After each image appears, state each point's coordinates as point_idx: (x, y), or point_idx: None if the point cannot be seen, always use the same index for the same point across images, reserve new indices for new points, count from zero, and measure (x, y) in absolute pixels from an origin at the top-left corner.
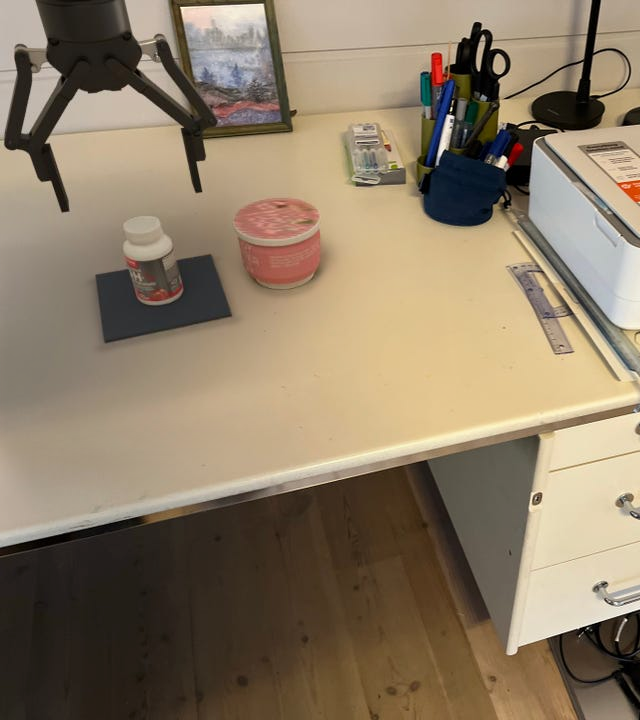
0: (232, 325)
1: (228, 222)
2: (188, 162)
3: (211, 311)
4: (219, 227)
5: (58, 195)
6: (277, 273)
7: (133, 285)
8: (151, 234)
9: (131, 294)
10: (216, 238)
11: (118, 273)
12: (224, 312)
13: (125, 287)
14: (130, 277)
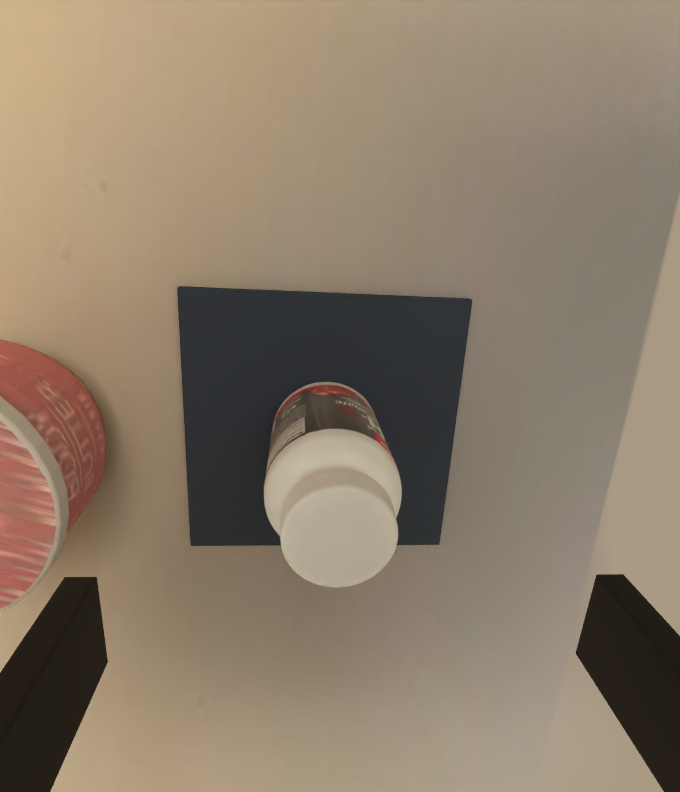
0: (183, 247)
1: (135, 655)
2: (41, 740)
3: (223, 315)
4: (158, 642)
5: (665, 631)
6: (6, 347)
7: None
8: (319, 482)
9: None
10: (171, 604)
11: None
12: (193, 299)
13: None
14: None
